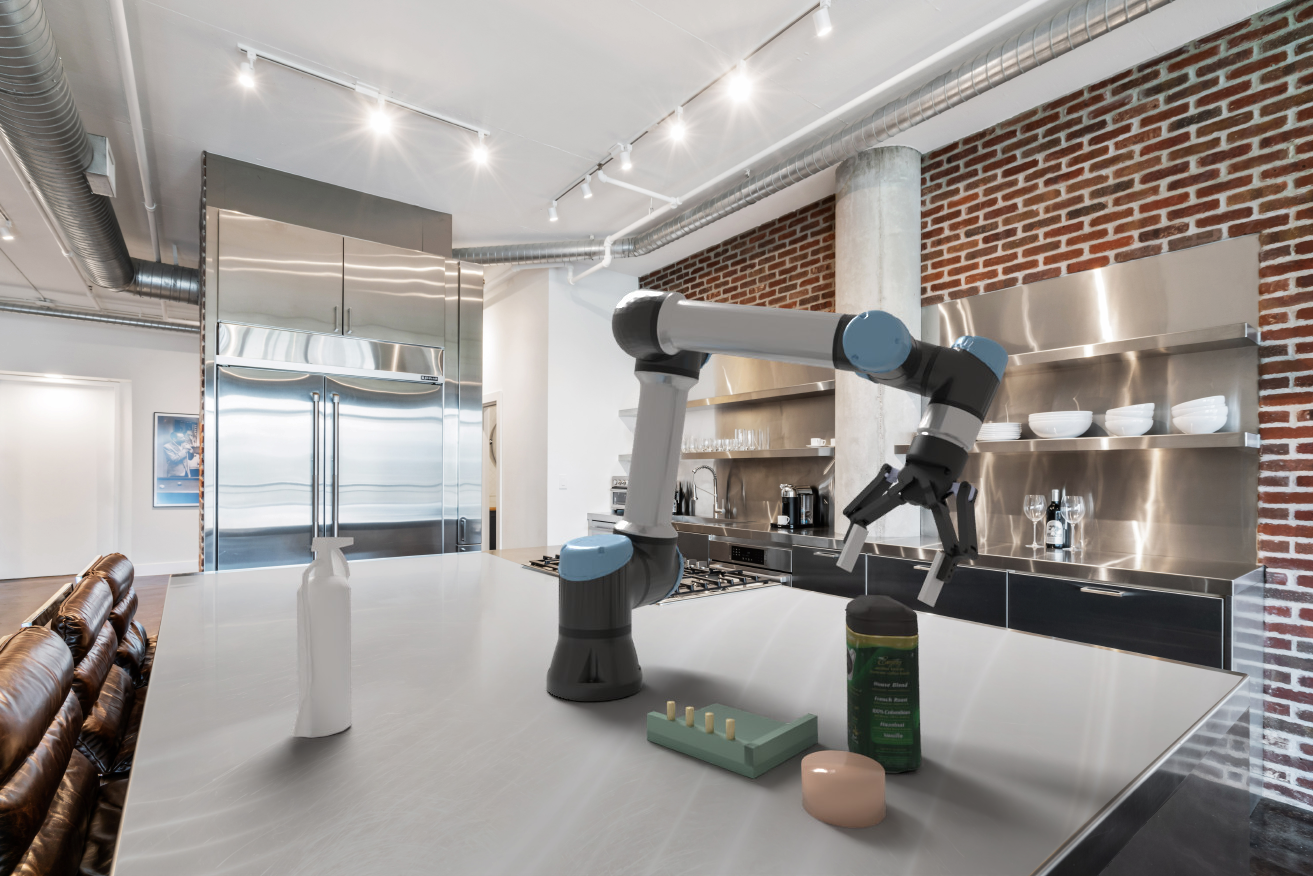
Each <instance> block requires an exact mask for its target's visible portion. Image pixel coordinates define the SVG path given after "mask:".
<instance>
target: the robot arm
mask: <svg viewBox="0 0 1313 876" xmlns="http://www.w3.org/2000/svg"><path fill="white" fill-rule="evenodd" d="M611 318H612V320H611V330H612V334H613V337H614V340H615V342H616V343H617V345H618V346H619V348H620V349H621V350H622V351H623V352H624V353H626V354H627V355H628V356H629V357H632V358H635V363H634V370H633V371H634V372H633V375H634V376H635V378H636V380H638V382H639V384H640V390H639V399H638V404H637V405H638V406H637V413H636V421H635V427H634V436H633V444H632V449H631V450H632V451H631V457H630V465H629V473H628V481H627V489H626V494H625V496H626V497H625V502H624V503H625V504H624V510H623V516H622V518H621V519H619V520H618V521H617V522H616V523H615V524H614V525H613V529H612V534H610V533H609V534H604V533H603V534H595V535H587V536H580V537H577V538H573V539H571V540H569V541H567V542H565V543H564V544H563V545H562V546H561V548H560V552H559V563H558V566H557V573H558V634H557V635H558V637H557V642H556V645H555V647H554V650H553V651H554V652H553V655H552V658H551V662H550V666H549V668H548V670H547V672H546V691H547V690H548V691H547V692H548V693H549V692H550V693H551V694H550V693H549V694H550V695H552V694H553V695H552V696H554V695H555V696H554V697H556V696H558V697H557V698H559V697H561V699H563V698H564V700H568V699H569V700H570V701H578V702H604V701H611V700H612V701H613V700H617V699H622V698H628V697H630V696H632V695H634V694H636V693H639V692H640V690H642V688H643V682H644V681H643V675H644V674H643V670H642V669H643V668H642V666H641V665H640V664H639V658H638V654H637V650H636V646H635V644H634V641H633V637H632V636H633V634H632V632H633V631H632V627H633V624H632V622H633V621H632V618H633V617H632V616H633V614H632V613H633V610H636V609H638V608H642V607H646V606H652V605H655V604H658V603H660V602H662V601H663V600H665V599H667V598H669V597H670V596H671V595H672V594H674V593H675V591H676V590H677V589H678V587H679V586H680V584H681V583H682V580H683V576H684V573H685V572H684V571H685V563H684V557H683V555H682V553H681V552H680V550H679V547H678V545H677V544H678V538H679V533H678V532H677V530H676V528H675V527H674V526H673V524H672V520H673V510H674V503H675V497H676V496H675V495H676V490H677V482H678V481H677V480H678V473H679V465H680V458H681V452H682V451H681V450H682V442H683V436H684V435H683V434H684V428H685V421H686V420H685V419H686V415H687V414H686V413H687V407H688V406H687V405H688V400H689V399H688V398H689V392H690V390H691V389H693V388H694V387H695V386H696V385H697V384H698V383H699V380H700V373H701V372H700V371H701V369H703V367H704V366H705V365H706V364H707V363H708V362H709V360H710V359H711V357H712V354H715V355H722V356H731V357H738V358H745V359H746V358H747V359H753V360H763V361H769V362H778V363H787V364H793V365H803V366H811V367H818V368H824V369H834V370H840V371H845V372H852V373H854V374H855V375H856V376H857V377H859V378H861V379H865V380H868V381H869V382H872V383H874V384H878V385H879V384H880V385H883V386H887V387H890V388H894V389H897V390H901V391H905V392H909V393H912V394H915V395H919V396H921V397H925V398H929V399H930V400H929V401H928V404H927V406H926V408H925V410H924V412H923V414H922V417H921V419H920V421H919V424H918V426H917V428H916V433H917V434H916V435H914V436H913V438H912V439H911V443H910V445H909V447H908V449H907V452H906V454H905V464H904V466H902V468H901V469H898V468H895V467H893V466H892V465H891V464H889V463H885V462H884V464H882V466H881V467H880V470H879V471H878V473H877V475H876V476H875V477H874V478H873V479H872V480H871V481H870V482H869V483H868V484H867V485H866V486H865V487H864V488H863V490H861V492H859V493H858V494H857V496H855V497H854V498H853V500H851V501H850V503H849V504H847V505H846V506H845V508H844V509H843V510H842V515H843V516H845V517H846V518H847V519H848V520H849V526H848V528H847V530H846V533H845V536H843V537H844V538H843V540H842V543H843V544H844V547H843V548H842V551H841V553H840V555H839V558H838V560H837V561H836V564H835V565H836V566H837V567H839V568H841V569H843V570H845V571H847V572H849V573H852V572H853V569H854V567H855V564H856V562H857V560H858V558H859V555H860V553H861V551H862V548H863V546H864V544H865V542H866V539H867V537H868V535H869V534H870V533H869V531H870V530H868V526H870V525H871V524H873V523H874V522H876V521H877V520H879V519H880V518H882V517H883V516H886V514H888V513H890V512H891V511H892V510H894V509H896V508H897V507H899V506H905V505H906V504H907V503H908V504H909V505H911V506H914V507H916V506H917V507H919V506H920V507H923V508H924V509H925V510H929V511H930V510H931V513H932V516H933V517H932V518H933V520H934V522H935V526H936V529H937V532H938V535H939V539H940V542H941V545H942V548H943V549H941V552H940V551H936V553H935V555H934V558H933V561H932V563H931V565H930V568H929V570H928V572H927V574H926V578H925V580H924V581H923V585H922V587H921V590H920V592H919V593H918V596H917V600H919V601H920V602H923V603H924V604H926V605H927V606H930V607H932V608H935V605H936V602H937V599H938V597H939V594H940V593H941V591H942V588H943V585H944V584H949V583H951V581H952V579H953V576H954V574H955V572H956V569H957V566H958V565H959V563H960V562H961V561H962V560H970V561H976V560H977V559H978V558H979V549H978V548H979V545H978V544H979V543H978V534H977V533H978V532H977V521H976V509H975V508H976V507H975V503H976V500H977V497H978V493H979V491H978V488H976V487H975V486H974V485H973V484H971V483H970V482H968V481H967V480H962V481H961V482H960V483H959V482H957V480H958V479H959V478H961V477H962V474H963V472H964V469H965V467H966V466H967V462H968V460H969V457H970V456H969V454H968V453H969V452H970V451H972V450H973V447H974V446H975V443H976V440H977V438H978V435H979V433H980V431H981V429H982V426H983V423H984V421H985V420H986V416H987V414H988V413H989V410H990V407H991V405H992V403H993V401H994V399H995V396H996V395H997V392H998V390H999V388H1000V386H1001V382H1002V379H1003V376H1004V374H1005V371H1006V369H1007V365H1008V362H1009V355H1008V352H1007V350H1006V348H1005V347H1004V346H1003V345H1001V344H1000V343H998V342H997V341H995V340H993V339H990V338H988V337H984V336H979V335H974V336H972V335H970V334H969V335H961V336H959V337H958V338H957V339H956V340H955V341H954V343H953V344H952V345H951V347H948V346H941V345H938V344H937V345H936V344H934V343H930V342H926V341H922V340H919V339H916V338H915V337H914V336H913V335H912V334H911V333H910V330H909V328H907V326H906V324H905V323H904V322H903V321H902V320H901V319H900V318H899V317H896V316H894V315H893V314H892V313H890V312H887V311H883V310H881V309H879V310H878V309H877V310H876V309H872V310H867V311H864V312H862V313H859V314H854V313H853V314H852V313H851V314H847V313H842V312H840V313H839V312H830V311H829V312H828V311H818V310H817V311H816V310H805V309H795V308H793V309H792V308H786V307H785V308H782V307H774V306H772V307H771V306H761V305H760V306H759V305H750V304H748V305H747V304H736V303H727V302H716V301H706V300H705V301H704V300H693V299H692V300H691V299H687V298H686V296H685V295H684V293H681V292H678V291H667V290H660V289H653V288H639V289H636V290H635V289H634V290H633V291H630V292H629V293H628V294H626V295H625V296H623V298H622V299H621V300H620V301H619V302H618V303H617V305H616V306H615V309H614V311H613V314H612V317H611ZM894 483H895V484H894ZM893 484H894V485H893ZM953 495H954V497H955V498H956V499H955V505H956V507H955V508H956V519H957V520H956V521H957V523H956V524H957V532H956V530H955V526H954V523H953V520H952V517H951V515H950V513H951V510H950V508H949V504H948V501H947V499H948V498H950V497H952V496H953Z"/></svg>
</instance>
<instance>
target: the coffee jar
mask: <svg viewBox="0 0 1313 876" xmlns="http://www.w3.org/2000/svg"><path fill="white" fill-rule="evenodd" d="M844 610H845V640H846V642H845V643H846V646H845V647H846V705H847V706H846V707H847V708H846V719H847V722H846V726H847V727H846V730H847V731H846V734H847V748H848V749H849V752H852V753H856V754H860V755H863V756H866V757H869V758H871V759H873V760H875V761H876V762H878V763H879V764H880V765H881V766H882V767H883V768H884V770H885V773H887V774H899V773H902V772H907V771H914V770H915V771H916V770H917V769H919V767H920V766H921V764H922V737H921V736H922V735H921V709H920V708H921V706H920V705H921V703H920V701H921V700H920V699H921V698H920V694H921V693H920V692H921V691H920V661H919V660H920V659H919V656H920V655H919V653H920V652H919V651H920V650H919V649H920V648H919V642H920V641H919V638H920V636H919V625H918V621H919V620H918V615H917V612H916V611H915V610H913V609H912V608H910V607H909V606H908V605H905V604H904V603H902V602H900V601H898V600H895V599H894V598H893V597H892V596H891V595H883V594H882V595H881V594H880V595H879V594H878V595H877V594H876V595H875V594H860V595H858V596H857V597H856V598H854V599H852V600H850V601H849V602H848V603H847V604H846V607H845V609H844Z"/></svg>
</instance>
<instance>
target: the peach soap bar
mask: <svg viewBox="0 0 1313 876" xmlns="http://www.w3.org/2000/svg"><path fill="white" fill-rule="evenodd" d="M800 767H801V805H802V807H803V809H804V810H805V812H806V813H807V814H809V815H810V816H811V817H813V818H815V819H816V820H818V821H821V822H822V823H826V824H828V825H831V826H836V827H841V828H849V829H850V828H851V829H853V828H854V829H855V828H856V829H858V828H868V827H872V826H876V825H878V824H880V823H881V822H882V820H883V821H884V820H885V818H886V816H887V809H886V808H887V805H886V800H887V799H886V797H887V796H886V772H885V770H884V768H883V767H882V766H881V765H880V764H879V763H878V762H876V761H875V760H873V759H871V758H869V757H866V756H863V755H860V754H856V753H852V752H850V751H846V750H820V751H814V752H811V753H809V754H807V755H805V756H804V757H803V758H802V760H801V765H800ZM885 815H886V816H885Z"/></svg>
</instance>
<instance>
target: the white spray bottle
mask: <svg viewBox="0 0 1313 876" xmlns="http://www.w3.org/2000/svg"><path fill="white" fill-rule="evenodd" d="M354 539H355V538H354V537H353V536H352V537H351V536H346V537H345V536H318V537H315V536H314V537H313V538H312V541H311V542H312V544H311V549H310V552H316V559H313V560H312V561H311V563H309V565H308V566H307V568H306V569H305V570H304V572H303V573H302V576H301V577H302V578H301V583H300V585H299V587H298V589H297V592H296V644H297V645H296V648H297V649H296V652H297V653H296V658H297V659H296V663H297V664H296V665H297V666H296V667H297V671H296V672H297V673H296V676H297V679H296V680H297V681H296V682H297V683H296V684H297V693H296V695H297V702H296V703H297V704H296V705H297V712H296V716H295V720H294V723H293V726H292V731H291V733H290V736H291V737H293V738H300V737H302V738H303V737H304V738H307V739H308V738H309V739H310V738H319V737H321V738H322V737H328V736H331V735H334V734H338V733H341V732H343V731H345V730H347V729H348V728H350V727H351V726H352V725H353V724H352V723H353V722H352V721H353V719H352V718H353V717H352V715H353V714H352V712H353V711H352V706H353V703H352V702H353V701H352V699H353V698H352V693H353V692H352V603H351V602H352V600H351V598H352V597H351V596H352V591H351V590H352V588H351V587H350V585H349V582H348V580H349V578H350V575H351V573H350V568H349V567H350V566H349V562H348V560H347V558H346V556H345V555H344V553H343V551H342V550H341V549H340V548H344V547H348V546H352V545H354V543H355V542H354ZM313 570H314V573H313V574H314V575H313V576H311V577H310V574H311V572H312V571H313Z"/></svg>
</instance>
